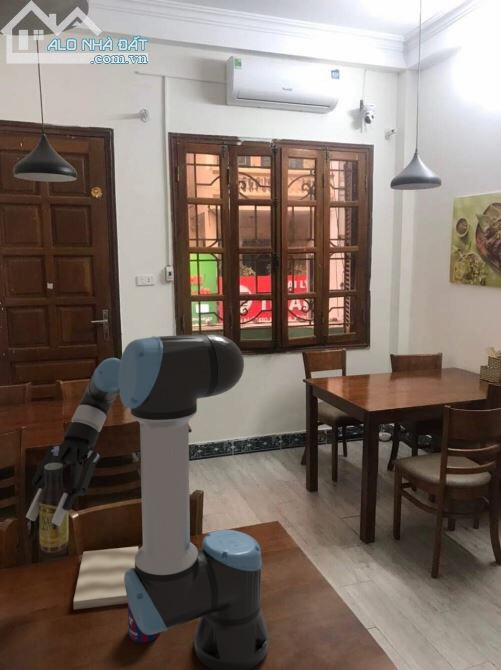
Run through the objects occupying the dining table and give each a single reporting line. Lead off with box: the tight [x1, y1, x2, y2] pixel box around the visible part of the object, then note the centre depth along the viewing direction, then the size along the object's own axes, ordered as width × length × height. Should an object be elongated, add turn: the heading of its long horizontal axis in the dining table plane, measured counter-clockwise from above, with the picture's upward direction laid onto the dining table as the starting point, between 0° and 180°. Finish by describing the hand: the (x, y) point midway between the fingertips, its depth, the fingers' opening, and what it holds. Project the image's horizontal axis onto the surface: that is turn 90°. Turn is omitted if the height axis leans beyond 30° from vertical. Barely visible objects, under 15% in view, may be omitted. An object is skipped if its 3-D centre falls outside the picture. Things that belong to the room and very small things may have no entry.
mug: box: [127, 602, 161, 644], centre depth 109 cm, size 7×10×7 cm
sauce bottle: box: [38, 463, 69, 554], centre depth 117 cm, size 7×6×20 cm
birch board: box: [73, 546, 139, 611], centre depth 126 cm, size 20×14×2 cm
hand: (42, 521), depth 114 cm, fingers closed on sauce bottle, 6 cm apart
